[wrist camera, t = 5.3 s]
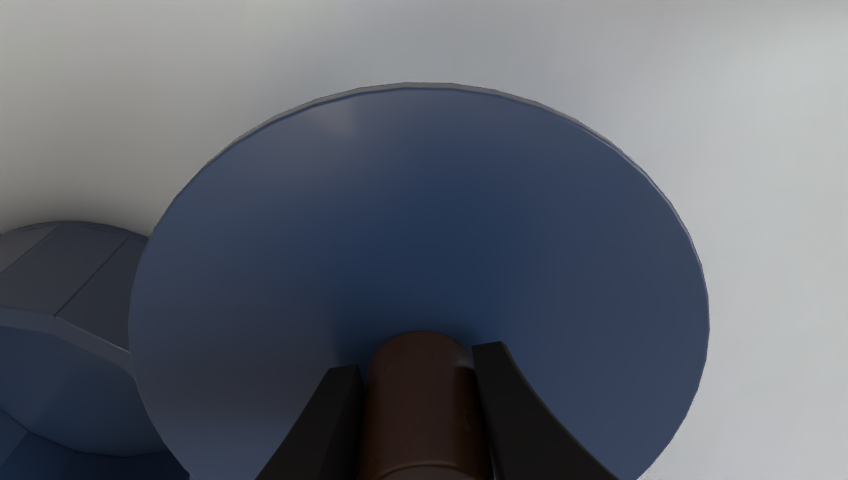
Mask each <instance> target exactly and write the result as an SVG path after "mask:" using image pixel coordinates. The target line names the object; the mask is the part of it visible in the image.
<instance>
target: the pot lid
mask: <svg viewBox="0 0 848 480" xmlns="http://www.w3.org/2000/svg"><path fill="white" fill-rule="evenodd" d="M709 331H710V325H709V302H708V293H707V288H706V283H705V279H704V274H703V269H702V264H701V262H700V259H699V257H698V254H697V252H696V249H695V247H694V244H693V242H692V239H691V236H690V234H689V232H688V230H687V229H686V227H685V225H684V224H683V222H682V220H681V219H680V217H679V215H678V213H677V212H676V210H675V208H674V207H673V205H672V203H671V202H670V201H669V200H668V198H667V197H666V196H665V195H664V194H663V192H662V191H661V190H660V189H659V188H658V186H657V185H656V184H655V183H654V182H653V181H652V179H651V178H650V177H649V176H648V175H647V173H646V172H645V171H644V170H642V169H641V168H640V167H639V166H638V165H637V164H636V163H635V162H634V161H632V160H631V159H630V158H629V157H628V156H627V155H626V154H624V153H623V152H622V151H621V150H620V149H619V148H618V147H616V146H615V145H614V144H613V143H612V142H611V141H609V140H608V139H606V138H604V137H603V136H601V135H600V134H598V133H597V132H595V131H593V130H592V129H590V128H589V127H587V126H586V125H584V124H582V123H581V122H579V121H578V120H576V119H574V118H572V117H570V116H567V115H565V114H563V113H561V112H558V111H556V110H554V109H552V108H549V107H547V106H545V105H543V104H541V103H538V102H536V101H532V100H529V99H525V98H522V97H518V96H515V95H512V94H508V93H505V92H501V91H498V90H494V89H487V88H481V87H474V86H467V85H460V84H454V83H418V82H403V83H395V84H386V85H378V86H369V87H361V88H356V89H352V90H349V91H345V92H341V93H337V94H333V95H329V96H325V97H321V98H317V99H314V100H312V101H310V102H307V103H305V104H302V105H300V106H297V107H295V108H292V109H290V110H288V111H285V112H283V113H280V114H278V115H275V116H274V117H272V118H270V119H269V120H267V121H265V122H263V123H262V124H260V125H258V126H257V127H255V128H253V129H251V130H250V131H248V132H246V133H245V134H243V135H241V136H239V137H238V138H237V139H236V140H234V141H233V142H232V143H231V144H229V145H228V146H227V147H226V148H224V149H223V150H222V151H221V152H219V153H218V154H217V155H216V156H214V157H213V158H212V159H211V160H209V161H208V162H207V163H206V164H205V165H204V166H203V167H202V168H201V170H200V171H199V172H198V173H197V174H196V175H195V176H194V177H193V178H192V179H191V180H190V181H189V183H188V184H187V185H186V186H185V187H184V188H183V189H182V190H181V191H180V192H179V193H178V195H177V196H176V197H175V198H174V199H173V201H172V202H171V204H170V205H169V207H168V208H167V210H166V211H165V213H164V214H163V216H162V217H161V219H160V220H159V222H158V223H157V225H156V226H155V228H154V230H153V232H152V234H151V236H150V239H149V241H148V243H147V245H146V248H145V250H144V252H143V254H142V256H141V259H140V261H139V265H138V268H137V272H136V276H135V280H134V284H133V287H132V291H131V297H130V309H129V320H128V335H129V348H130V360H131V364H132V368H133V372H134V376H135V380H136V385H137V389H138V391H139V394H140V396H141V399H142V401H143V404H144V406H145V408H146V411H147V413H148V416H149V418H150V420H151V421H152V423H153V425H154V426H155V428H156V430H157V432H158V433H159V435H160V437H161V438H162V440H163V442H164V443H165V445H166V446H167V447H168V449H169V450H170V451H171V452H172V454H173V455H174V456H175V457H176V459H177V460H178V461H179V462H180V464H181V465H182V466H183V467H184V468H185V469H186V470H187V471H188V472H189V473H190V474H191V475H192V476H193V477H194V478H195V479H196V480H255V478H256V477H257V476H258V474H259V473H260V472H261V470H262V469H263V468H264V466H265V465H266V464H267V462H268V461H269V459H270V458H271V457H272V455H273V454H274V453H275V451H276V450H277V449H278V447H279V446H280V444H281V443H282V441H283V440H284V438H285V437H286V435H287V434H288V432H289V431H290V429H291V428H292V426H293V425H294V423H295V422H296V420H297V419H298V417H299V416H300V414H301V413H302V411H303V409H304V408H305V406H306V405H307V403H308V401H309V400H310V398H311V396H312V395H313V393H314V391H315V390H316V388H317V387H318V385H319V383H320V382H321V380H322V378H323V377H324V375H325V373H326V372H327V371H328V369H329V368H334V367H340V366H346V365H353V364H358V366H359V370H360V374H361V377H362V381H363V384H364V388H365V392H364V403H363V413H362V423H361V433H360V444H359V454H358V464H357V474H356V480H496V479H495V476H494V472H493V467H492V460H491V454H490V448H489V442H488V435H487V429H486V424H485V419H484V415H483V411H482V407H481V401H480V395H479V390H478V384H477V378H476V373H475V367H474V360H473V353H472V345H478V344H485V343H491V342H497V341H502V342H503V343H505V344H506V345H507V347H508V350H509V352H510V354H511V355H512V357H513V359H514V361H515V363H516V364H517V366H518V367H519V369H520V370H521V372H522V373H523V375H524V376H525V378H526V379H527V381H528V382H529V384H530V385H531V386H532V388H533V389H534V390H535V392H536V393H537V394H538V395H539V397H540V398H541V399H542V401H543V402H544V403H545V404H546V406H547V407H548V408H549V409H550V411H551V412H552V413H553V414H554V415H555V416H556V418H557V419H558V420H559V421H560V422H561V423H562V424H563V425H564V426H565V428H566V429H567V430H568V431H569V432H570V433H571V434H572V435H573V436H574V437H575V438H576V439H577V440H578V441H579V442H580V443H581V444H582V445H583V446H584V447H585V448H586V449H587V450H588V451H589V452H590V453H591V454H592V455H593V456H594V457H595V458H596V459H597V460H598V461H599V462H600V463H601V464H603V465H604V466H605V467H606V468H607V469H608V470H609V471H611V472H612V473H613V474H614V475H615V476H616V477H617V478H619V479H620V480H637V479H638V478H639V477H640V476H641V475H642V474H643V473H644V472H645V471H646V470H647V469H648V468H649V467H650V466H651V465H652V464H653V463H654V461H655V460H656V459H657V458H658V456H659V455H660V454H661V453H662V451H663V450H664V449H665V448H666V447H667V445H668V444H669V443H670V441H671V440H672V438H673V436H674V435H675V433H676V432H677V430H678V428H679V427H680V425H681V424H682V422H683V420H684V419H685V417H686V415H687V413H688V410H689V408H690V406H691V404H692V401H693V399H694V397H695V395H696V392H697V390H698V387H699V383H700V380H701V376H702V373H703V369H704V366H705V362H706V356H707V348H708V339H709Z"/></svg>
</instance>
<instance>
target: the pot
mask: <svg viewBox="0 0 848 480" xmlns="http://www.w3.org/2000/svg"><path fill="white" fill-rule="evenodd" d="M148 241H149V238H147V237H145V236H142V235H139V234H136V233H133V232H130V231H128V230H125V229H121V228H117V227H112V226H108V225H104V224H97V223H89V222H78V221H57V222H48V223H39V224H35V225H30V226H26V227H22V228H18V229H16V230H13V231H11V232H8V233H6V234H4V235H0V480H196V479H195V478H194V477H193V476H192V475H191V474H190V473H189V472H188V471H187V470H186V469H185V468H184V467H183V466H182V465H181V464H180V462H179V461H178V460H177V459H176V457H175V456H174V455H173V454H172V452H171V451H170V450H169V449H168V447H167V446H166V445H165V443H164V442H163V440H162V438H161V437H160V435H159V433H158V432H157V430H156V428H155V426H154V425H153V423H152V421H151V420H150V418H149V416H148V413H147V411H146V408H145V406H144V404H143V401H142V399H141V396H140V394H139V391H138V389H137V385H136V380H135V376H134V372H133V368H132V364H131V360H130V348H129V335H128V320H129V309H130V297H131V291H132V287H133V284H134V280H135V276H136V272H137V268H138V265H139V261H140V259H141V256H142V254H143V252H144V250H145V248H146V245H147V243H148Z"/></svg>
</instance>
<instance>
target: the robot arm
mask: <svg viewBox="0 0 848 480" xmlns="http://www.w3.org/2000/svg"><path fill="white" fill-rule="evenodd" d="M472 353H473V360H474V367H475V373H476V378H477V384H478V390H479V395H480V401H481V407H482V411H483V415H484V419H485V424H486V429H487V435H488V442H489V448H490V454H491V460H492V467H493V472H494V476H495V479H496V480H620V479H619V478H617V477H616V476H615V475H614V474H613V473H612V472H611V471H609V470H608V469H607V468H606V467H605V466H604V465H603V464H601V463H600V462H599V461H598V460H597V459H596V458H595V457H594V456H593V455H592V454H591V453H590V452H589V451H588V450H587V449H586V448H585V447H584V446H583V445H582V444H581V443H580V442H579V441H578V440H577V439H576V438H575V437H574V436H573V435H572V434H571V433H570V432H569V431H568V430H567V429H566V428H565V426H564V425H563V424H562V423H561V422H560V421H559V420H558V419H557V418H556V416H555V415H554V414H553V413H552V412H551V411H550V409H549V408H548V407H547V406H546V404H545V403H544V402H543V401H542V399H541V398H540V397H539V395H538V394H537V393H536V392H535V390H534V389H533V388H532V386H531V385H530V384H529V382H528V381H527V379H526V378H525V376H524V375H523V373H522V372H521V370H520V369H519V367H518V366H517V364H516V363H515V361H514V359H513V357H512V355H511V354H510V352H509V350H508V347H507V345H506V344H505V343H503V342H502V341H497V342H491V343H485V344H478V345H472ZM364 392H365V388H364V384H363V381H362V377H361V374H360V370H359V366H358V364H353V365H346V366H340V367H334V368H329V369H328V371H327V372H326V373H325V375H324V377H323V378H322V380H321V382H320V383H319V385H318V387H317V388H316V390H315V391H314V393H313V395H312V396H311V398H310V400H309V401H308V403H307V405H306V406H305V408H304V409H303V411H302V413H301V414H300V416H299V417H298V419H297V420H296V422H295V423H294V425H293V426H292V428H291V429H290V431H289V432H288V434H287V435H286V437H285V438H284V440H283V441H282V443H281V444H280V446H279V447H278V449H277V450H276V451H275V453H274V454H273V455H272V457H271V458H270V459H269V461H268V462H267V464H266V465H265V466H264V468H263V469H262V470H261V472H260V473H259V474H258V476H257V477H256V478H255V480H356V474H357V464H358V454H359V444H360V433H361V423H362V413H363V403H364Z"/></svg>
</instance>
